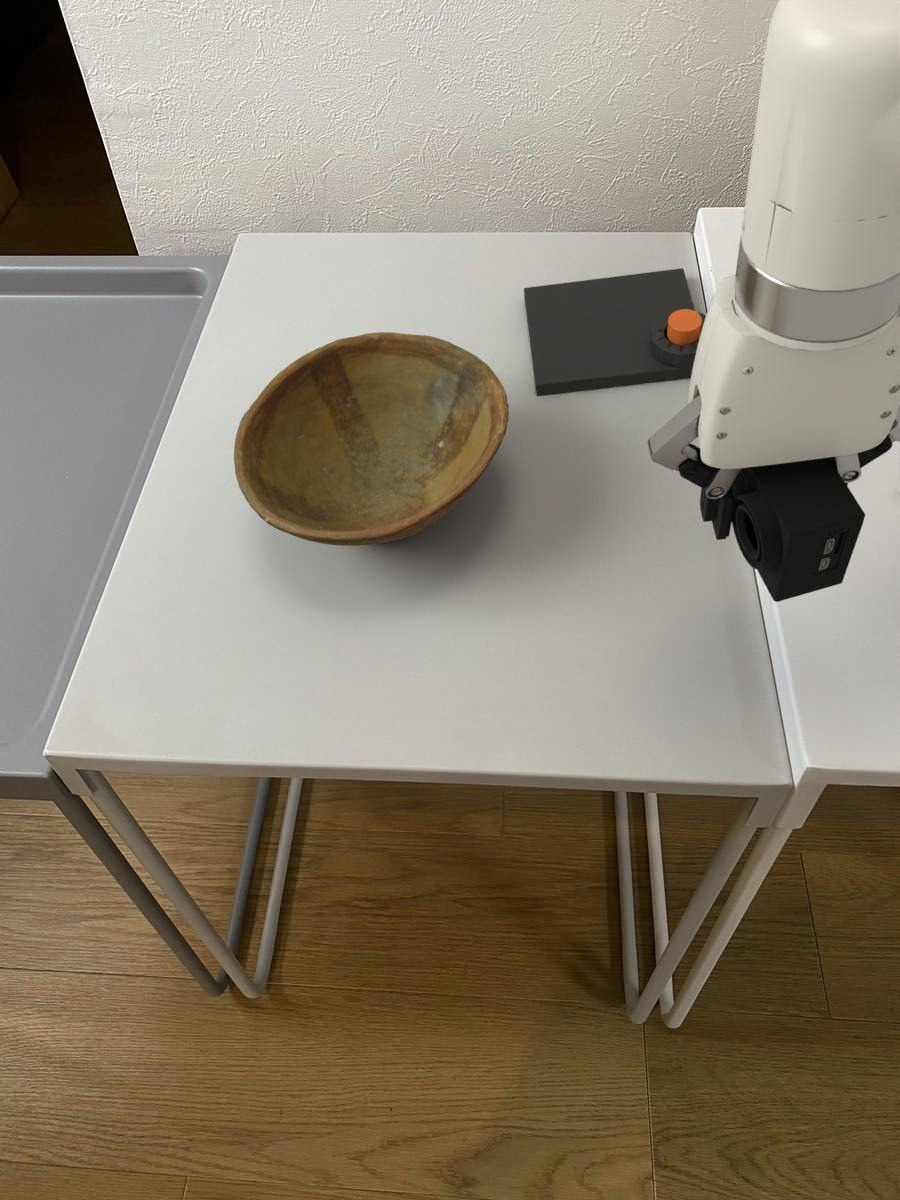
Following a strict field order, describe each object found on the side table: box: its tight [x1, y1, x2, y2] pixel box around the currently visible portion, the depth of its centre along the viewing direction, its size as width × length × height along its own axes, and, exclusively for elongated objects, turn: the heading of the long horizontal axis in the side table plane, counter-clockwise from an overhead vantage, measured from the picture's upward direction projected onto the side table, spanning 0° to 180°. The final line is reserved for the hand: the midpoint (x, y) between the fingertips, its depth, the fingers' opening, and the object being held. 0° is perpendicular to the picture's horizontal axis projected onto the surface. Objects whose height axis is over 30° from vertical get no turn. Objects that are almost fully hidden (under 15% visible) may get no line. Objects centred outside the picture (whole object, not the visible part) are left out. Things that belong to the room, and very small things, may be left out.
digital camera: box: [731, 457, 866, 603], centre depth 56 cm, size 10×5×7 cm, turn 13°
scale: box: [523, 267, 706, 396], centre depth 90 cm, size 17×14×3 cm
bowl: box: [233, 331, 510, 547], centre depth 79 cm, size 22×23×10 cm
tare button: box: [667, 309, 702, 346], centre depth 85 cm, size 3×3×2 cm
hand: (767, 513), depth 58 cm, fingers closed on digital camera, 5 cm apart
